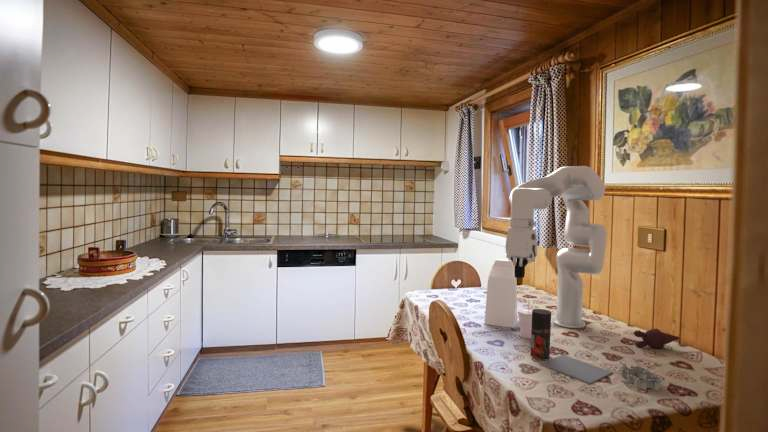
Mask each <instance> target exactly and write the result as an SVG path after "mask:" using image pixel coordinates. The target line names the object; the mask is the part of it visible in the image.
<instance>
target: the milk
mask: <svg viewBox="0 0 768 432" xmlns="http://www.w3.org/2000/svg"><path fill="white" fill-rule="evenodd" d="M517 279H518V278H517V277H515V267H514V265H513V262H512V260H510V259H509V260H507V259H495V260H494V263H493V265H492V267H491V270H490V272H489V275H488V279H487V287H486V299H485V300H486V301H485V312H484V313H485V314H484V322H483V323H484V324H485V325H492V326H498V327H505V328H516V326H517V322H518V291H517V288H518V287H517V284H518V283H517Z"/></svg>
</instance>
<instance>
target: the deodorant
mask: <svg viewBox="0 0 768 432" xmlns="http://www.w3.org/2000/svg"><path fill="white" fill-rule="evenodd" d="M531 310H532V327H531V338H530V351H529V352H530V354H529V355H530V357H532V358H533V359H536V360H540V361H542V360H544V361H547V360H550V356H551V355H550V353H551V352H550V350H551V349H550V348H551V330H552V329H551V328H552V312H551V311H550V310H548V309H542V308H535V309H531Z"/></svg>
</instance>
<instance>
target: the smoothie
mask: <svg viewBox="0 0 768 432" xmlns="http://www.w3.org/2000/svg"><path fill="white" fill-rule="evenodd" d="M532 310H533V309H530V299H528V300H527V309H524V308H520V309H517V315H518V322H519V333H520V335H519V336H520V338H522V339H526V338H529V339H531V327H532Z"/></svg>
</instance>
